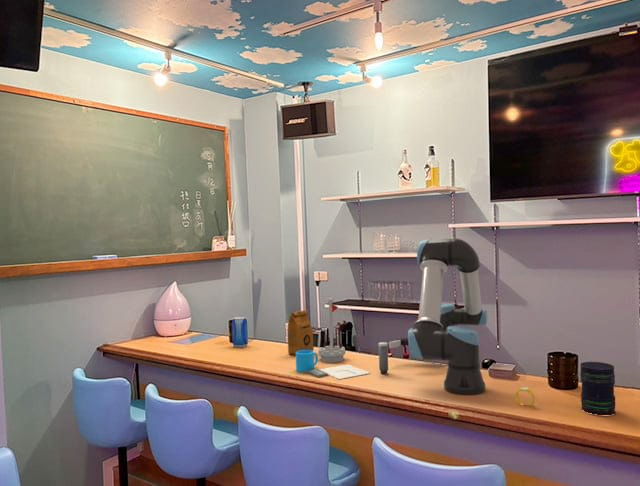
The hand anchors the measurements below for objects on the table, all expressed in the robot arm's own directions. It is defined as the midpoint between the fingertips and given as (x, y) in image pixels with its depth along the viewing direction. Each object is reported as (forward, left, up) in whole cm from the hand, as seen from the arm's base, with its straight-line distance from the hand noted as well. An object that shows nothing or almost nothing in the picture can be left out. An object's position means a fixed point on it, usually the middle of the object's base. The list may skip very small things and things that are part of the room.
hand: (399, 347), depth 225 cm
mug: (+25, +33, -10) cm, 42 cm away
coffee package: (+55, +21, -10) cm, 60 cm away
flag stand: (+34, +15, -10) cm, 38 cm away
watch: (-62, -4, -10) cm, 63 cm away
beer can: (+92, +40, -10) cm, 101 cm away
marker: (-1, +10, -10) cm, 14 cm away
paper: (+11, +23, -9) cm, 27 cm away
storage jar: (-79, -18, -10) cm, 82 cm away
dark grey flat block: (+15, +34, -9) cm, 38 cm away
